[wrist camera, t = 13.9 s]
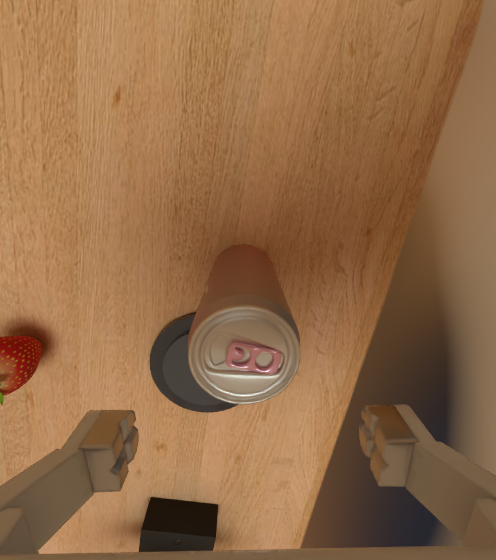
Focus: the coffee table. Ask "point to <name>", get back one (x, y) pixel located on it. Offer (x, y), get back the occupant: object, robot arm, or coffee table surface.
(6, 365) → the fruit
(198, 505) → the lamp
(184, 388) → the saucer
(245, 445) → the coffee table surface
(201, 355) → the beverage can
